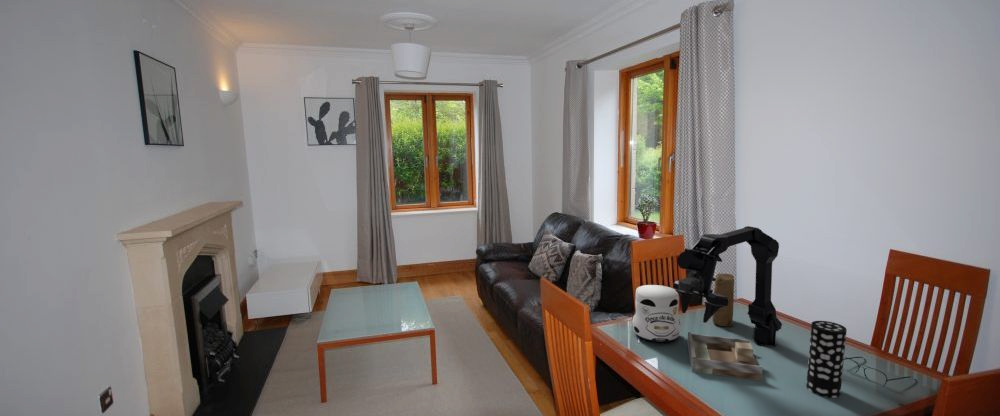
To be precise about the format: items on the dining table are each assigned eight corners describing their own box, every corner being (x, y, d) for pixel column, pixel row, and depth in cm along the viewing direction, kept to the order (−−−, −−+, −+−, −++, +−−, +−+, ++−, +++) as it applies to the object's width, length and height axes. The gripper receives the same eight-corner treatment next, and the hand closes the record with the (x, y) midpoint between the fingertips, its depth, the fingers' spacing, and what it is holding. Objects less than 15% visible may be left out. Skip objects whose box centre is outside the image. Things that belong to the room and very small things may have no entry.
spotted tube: (799, 383, 139) (804, 321, 136) (825, 381, 139) (830, 320, 136) (820, 398, 130) (826, 333, 128) (847, 396, 131) (854, 331, 128)
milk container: (658, 350, 162) (659, 302, 160) (622, 333, 177) (623, 289, 174) (689, 338, 171) (691, 293, 168) (653, 323, 186) (654, 281, 183)
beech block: (749, 356, 152) (750, 343, 152) (752, 362, 148) (753, 349, 148) (734, 354, 154) (735, 341, 153) (736, 360, 150) (737, 347, 149)
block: (732, 328, 179) (735, 280, 176) (711, 325, 183) (713, 277, 180) (732, 319, 189) (735, 272, 186) (712, 316, 192) (715, 270, 189)
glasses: (835, 368, 148) (838, 354, 148) (864, 365, 153) (867, 351, 153) (885, 390, 135) (888, 374, 134) (915, 385, 140) (918, 370, 140)
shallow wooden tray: (748, 351, 160) (749, 338, 159) (761, 380, 141) (762, 365, 140) (687, 345, 166) (688, 332, 165) (692, 371, 147) (692, 357, 146)
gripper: (666, 262, 157) (656, 306, 157) (709, 277, 139) (697, 326, 140) (690, 266, 161) (680, 309, 162) (734, 281, 144) (723, 328, 145)
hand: (693, 317), depth 152 cm, fingers open, 9 cm apart
